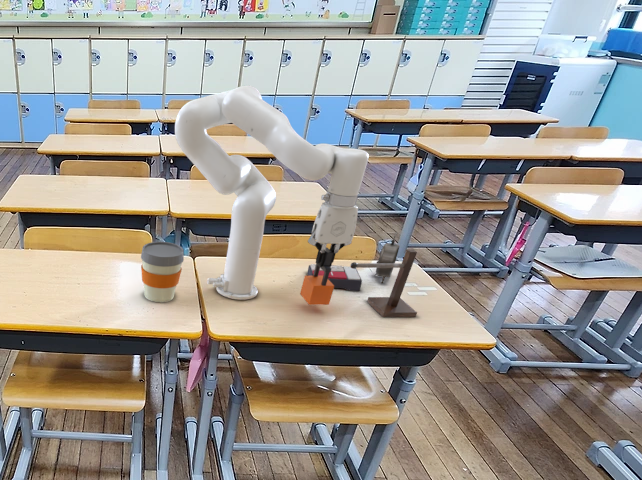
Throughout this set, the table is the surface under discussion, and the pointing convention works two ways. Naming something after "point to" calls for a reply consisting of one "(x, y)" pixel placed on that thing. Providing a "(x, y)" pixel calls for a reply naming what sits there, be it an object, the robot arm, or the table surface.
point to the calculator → (340, 277)
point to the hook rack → (394, 303)
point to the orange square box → (318, 284)
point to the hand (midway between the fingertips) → (323, 264)
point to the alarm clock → (387, 258)
